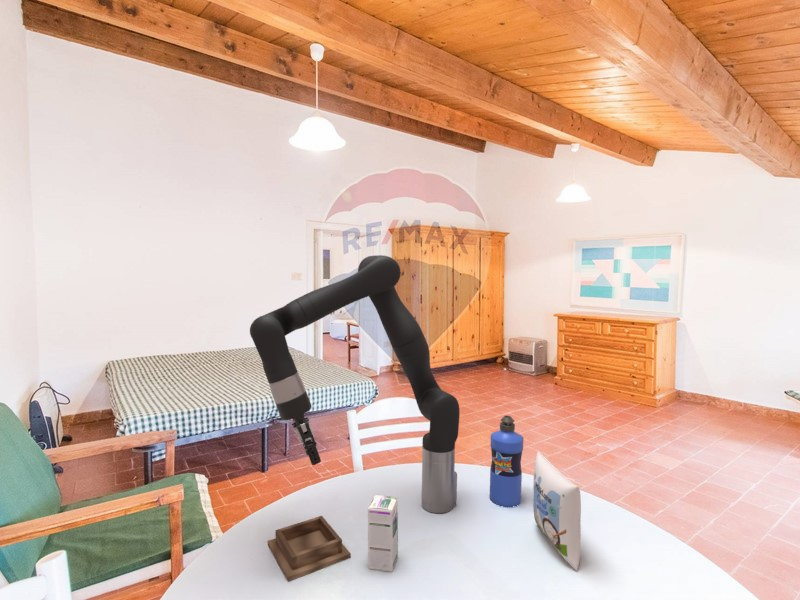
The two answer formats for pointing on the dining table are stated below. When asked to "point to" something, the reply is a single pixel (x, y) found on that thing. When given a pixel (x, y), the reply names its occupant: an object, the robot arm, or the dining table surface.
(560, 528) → the pouch
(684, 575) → the dining table surface
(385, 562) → the syrup box
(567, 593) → the dining table surface
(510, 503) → the water bottle
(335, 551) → the holder stand
